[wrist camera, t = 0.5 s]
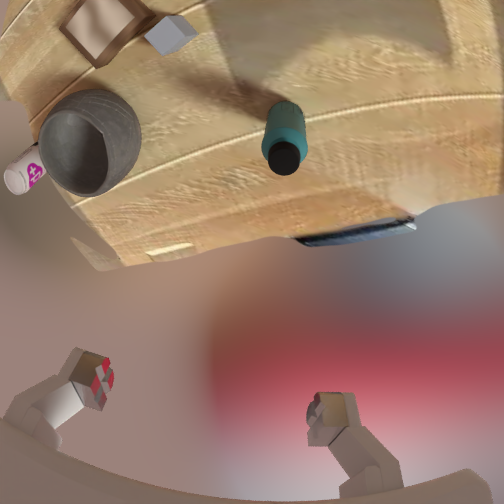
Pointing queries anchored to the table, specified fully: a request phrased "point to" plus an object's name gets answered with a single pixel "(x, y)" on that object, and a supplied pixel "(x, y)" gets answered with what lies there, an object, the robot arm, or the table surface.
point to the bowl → (89, 142)
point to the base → (104, 27)
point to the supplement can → (24, 171)
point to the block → (171, 34)
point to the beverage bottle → (285, 138)
